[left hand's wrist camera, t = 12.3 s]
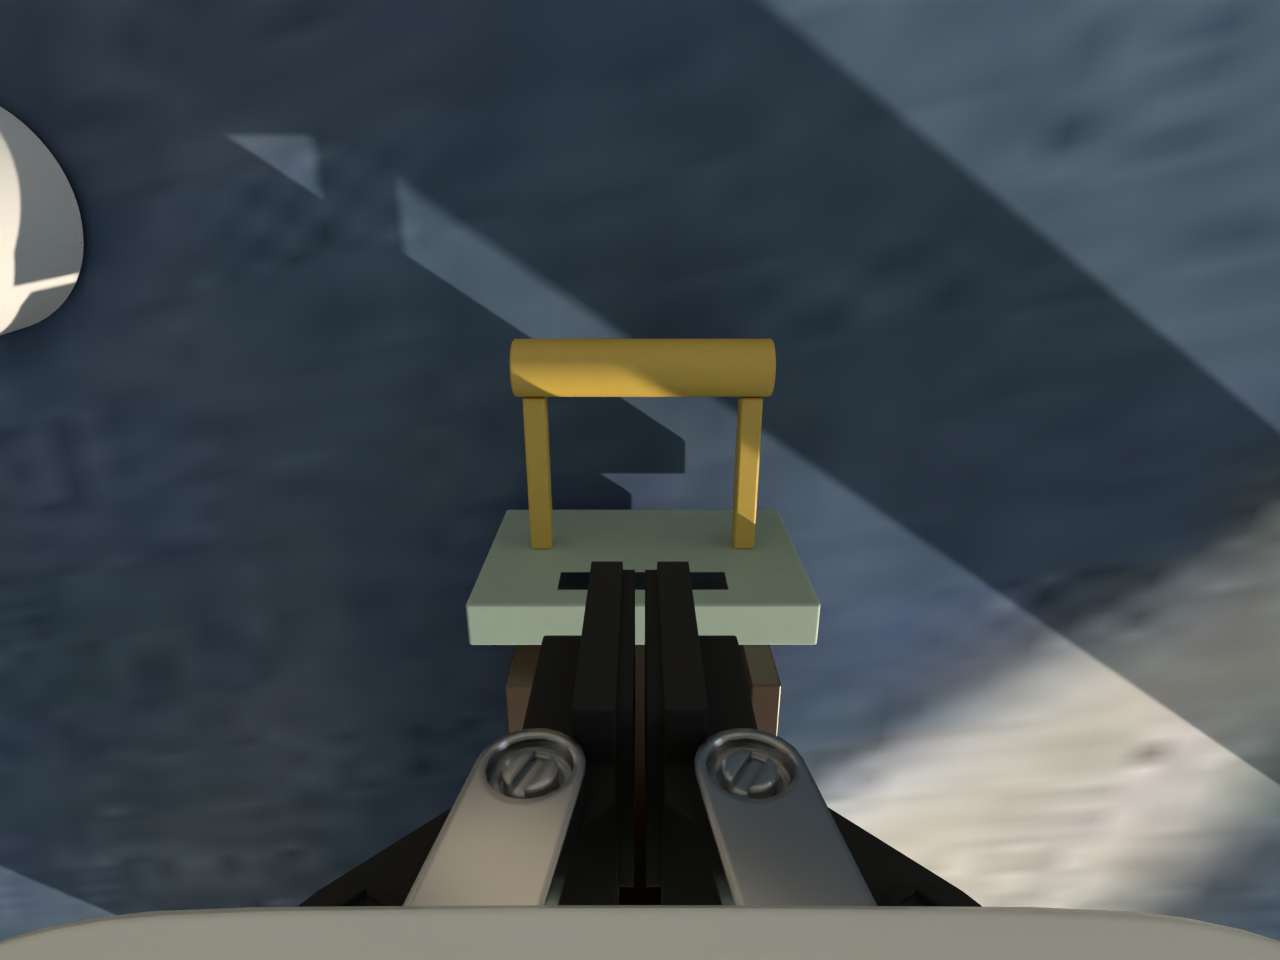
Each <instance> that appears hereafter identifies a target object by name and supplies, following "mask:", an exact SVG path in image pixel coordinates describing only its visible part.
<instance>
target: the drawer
mask: <svg viewBox="0 0 1280 960" xmlns="http://www.w3.org/2000/svg"><path fill="white" fill-rule="evenodd" d="M775 376H776V352H775V346H774V342H773V340H772V339H514V340H513V341H512V344H511V349H510V380H511V387H512V391H513V394H514V395H515V396H516V397H524V398H523V418H524V435H525V452H526V469H527V486H528V503H529V510H507V511H506V513H505V516H504V518H503V520H502V523H501V525H500V527H499V530H498V532H497V534H496V537H495V539H494V541H493V543H492V546H491V548H490V550H489V553H488V555H487V557H486V560H485V562H484V564H483V567H482V569H481V571H480V573H479V576H478V578H477V580H476V583H475V585H474V587H473V590H472V592H471V594H470V597H469V599H468V601H467V603H466V614H467V625H468V635H469V643H470V644H471V645H516V647H515V650H514V654H513V658H512V661H511V665H510V668H509V672H508V675H507V679H506V683H505V698H506V711H507V723H508V734H509V733H511V732H514V731H519V730H522V729H523V724H524V720H525V715H526V711H527V706H528V702H529V697H530V693H531V688H532V684H533V679H534V675H535V670H536V666H537V661H538V657H539V653H540V648H541V644H542V640H543V637H544V636H545V635H582V628H583V620H584V613H585V605H586V598H587V591H588V583H589V576H590V568H591V562H592V561H623V570H635V811H634V887H619V904H618V905H662V904H661V887H646V811H645V570H657V561H688V562H689V568H690V576H691V583H692V591H693V598H694V605H695V613H696V620H697V628H698V635H735V636H736V637H737V640H738V644H739V648H740V653H741V657H742V661H743V666H744V670H745V675H746V679H747V684H748V688H749V693H750V697H751V702H752V706H753V711H754V715H755V720H756V724H757V729H758V730H761V731H766V732H769V733H771V734H774V735H776V736H777V733H778V721H779V708H780V696H781V683H780V679H779V676H778V673H777V669H776V666H775V662H774V659H773V656H772V652H771V649H770V645H814V644H816V643H817V635H818V625H819V615H820V603H819V601H818V599H817V596H816V594H815V592H814V590H813V588H812V585H811V583H810V581H809V579H808V576H807V574H806V572H805V570H804V568H803V565H802V563H801V561H800V559H799V556H798V554H797V552H796V550H795V548H794V545H793V543H792V541H791V539H790V537H789V534H788V532H787V530H786V528H785V525H784V523H783V521H782V519H781V517H780V514H779V512H778V510H756V507H757V491H758V474H759V458H760V441H761V425H762V409H763V399H762V397H769V396H771V395H772V392H773V389H774V384H775ZM547 397H738V413H737V434H736V454H735V475H734V496H733V510H552V493H551V471H550V450H549V428H548V407H547Z"/></svg>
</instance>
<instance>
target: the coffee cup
mask: <svg viewBox="0 0 1280 960" xmlns="http://www.w3.org/2000/svg"><path fill="white" fill-rule="evenodd" d="M83 247H84V239H83V227H82V221H81V216H80V212H79V208H78V204H77V201H76V199H75V196H74V193H73V191H72V188H71V186H70V184H69V182H68V180H67V178H66V176H65V174H64V172H63V171H62V169H61V167H60V165H59V164H58V162H57V161H56V159H55V158H54V156H53V155H52V154H51V152H50V151H49V150H48V149H47V147H46V146H45V145H44V144H43V143H42V141H41V140H40V139H39V138H38V137H37V136H36V135H35V134H34V133H33V132H32V131H31V130H30V129H29V128H28V127H27V126H26V125H25V124H23V123H22V122H21V121H20V120H19V119H17V118H16V117H15V116H14V115H12V114H11V113H9V112H8V111H7V110H5V109H4V108H2V107H0V335H3V334H6V333H10V332H13V331H16V330H19V329H22V328H25V327H28V326H31V325H34V324H36V323H38V322H40V321H42V320H44V319H45V318H47V317H48V316H50V315H51V314H52V313H53V312H55V311H56V310H57V309H58V308H59V307H60V306H61V305H62V304H63V303H64V301H65V300H66V299H67V298H68V296H69V294H70V293H71V291H72V289H73V287H74V286H75V284H76V281H77V279H78V276H79V273H80V269H81V265H82V259H83Z"/></svg>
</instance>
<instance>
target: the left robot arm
mask: <svg viewBox="0 0 1280 960" xmlns="http://www.w3.org/2000/svg"><path fill="white" fill-rule="evenodd" d="M634 811H635V570H623V561H592V562H591V568H590V576H589V583H588V591H587V598H586V605H585V613H584V620H583V628H582V635H545V636H544V637H543V640H542V644H541V648H540V653H539V657H538V661H537V666H536V670H535V675H534V679H533V684H532V688H531V693H530V697H529V702H528V706H527V711H526V715H525V720H524V724H523V729H522V730H519V731H514V732H511V733H509V734H506V735H504V736H502V737H500V738H497V739H496V740H495V741H493V742H492V743H491V744H490V745H488V746H487V747H486V748H485V749H484V750H483V751H482V753H481V754H480V755H479V757H478V758H477V759H476V761H475V763H474V765H473V767H472V769H471V771H470V773H469V775H468V777H467V779H466V781H465V783H464V785H463V787H462V789H461V791H460V793H459V795H458V797H457V799H456V801H455V803H454V805H453V807H452V808H450V809H449V810H447V811H445V812H444V813H442V814H441V815H439V816H437V817H436V818H434V819H433V820H431V821H429V822H428V823H426V824H425V825H423V826H421V827H420V828H418V829H417V830H415V831H413V832H412V833H410V834H409V835H407V836H405V837H404V838H402V839H401V840H399V841H397V842H396V843H394V844H393V845H391V846H389V847H388V848H386V849H385V850H383V851H381V852H380V853H378V854H377V855H375V856H373V857H372V858H370V859H369V860H367V861H365V862H364V863H362V864H361V865H359V866H357V867H356V868H354V869H352V870H351V871H349V872H348V873H346V874H344V875H343V876H341V877H340V878H338V879H336V880H335V881H333V882H332V883H330V884H328V885H327V886H325V887H324V888H322V889H320V890H319V891H317V892H316V893H315V894H313V895H312V896H311V897H309V898H308V899H307V900H306V901H304V902H303V903H302V904H300V905H299V906H298V907H243V908H219V909H195V910H171V911H148V912H140V913H131V914H123V915H114V916H105V917H97V918H92V919H87V920H82V921H77V922H72V923H67V924H62V925H58V926H53V927H48V928H43V929H39V930H35V931H32V932H29V933H26V934H22V935H19V936H16V937H13V938H9V939H6V940H3V941H0V960H1280V941H1277V940H1274V939H1271V938H1267V937H1264V936H1261V935H1258V934H1254V933H1251V932H1248V931H1245V930H1241V929H1237V928H1232V927H1227V926H1222V925H1218V924H1213V923H1208V922H1203V921H1198V920H1193V919H1188V918H1183V917H1175V916H1166V915H1157V914H1149V913H1140V912H1132V911H1108V910H1083V909H1059V908H1037V907H982V906H981V905H980V904H978V903H977V902H976V901H974V900H973V899H972V898H971V897H969V896H968V895H967V894H965V893H964V892H963V891H961V890H960V889H958V888H956V887H955V886H953V885H952V884H950V883H948V882H947V881H945V880H944V879H942V878H940V877H939V876H937V875H936V874H934V873H932V872H931V871H929V870H928V869H926V868H924V867H923V866H921V865H919V864H918V863H916V862H915V861H913V860H911V859H910V858H908V857H907V856H905V855H903V854H902V853H900V852H899V851H897V850H895V849H894V848H892V847H891V846H889V845H887V844H886V843H884V842H883V841H881V840H879V839H878V838H876V837H875V836H873V835H871V834H870V833H868V832H867V831H865V830H863V829H862V828H860V827H859V826H857V825H855V824H854V823H852V822H851V821H849V820H847V819H846V818H844V817H843V816H841V815H839V814H838V813H836V812H835V811H833V810H831V809H830V808H828V807H827V805H826V803H825V801H824V799H823V797H822V795H821V793H820V791H819V789H818V787H817V785H816V783H815V781H814V779H813V777H812V775H811V773H810V771H809V769H808V767H807V765H806V763H805V761H804V759H803V758H802V757H801V755H800V754H799V753H798V751H797V750H796V749H795V748H794V747H793V746H792V745H790V744H789V743H788V742H787V741H785V740H784V739H783V738H780V737H778V736H776V735H774V734H771V733H769V732H766V731H761V730H758V729H757V724H756V720H755V715H754V711H753V706H752V702H751V697H750V693H749V688H748V684H747V679H746V675H745V670H744V666H743V661H742V657H741V653H740V648H739V644H738V640H737V637H736V636H735V635H698V628H697V620H696V613H695V605H694V598H693V591H692V583H691V576H690V568H689V562H688V561H657V570H645V811H646V887H661V904H662V905H618V904H619V887H634Z"/></svg>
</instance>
